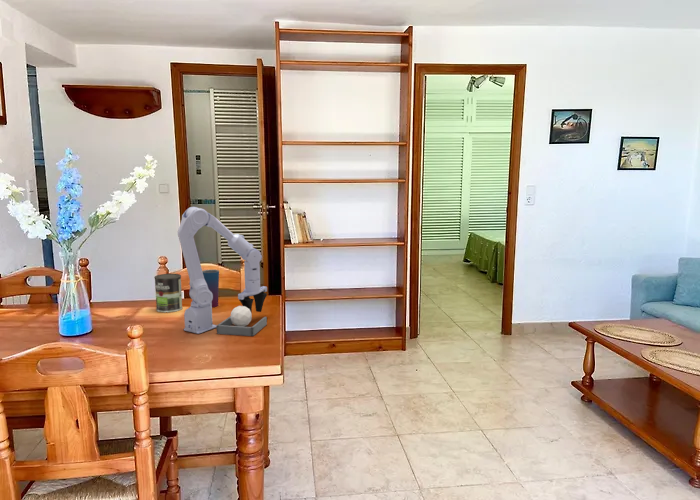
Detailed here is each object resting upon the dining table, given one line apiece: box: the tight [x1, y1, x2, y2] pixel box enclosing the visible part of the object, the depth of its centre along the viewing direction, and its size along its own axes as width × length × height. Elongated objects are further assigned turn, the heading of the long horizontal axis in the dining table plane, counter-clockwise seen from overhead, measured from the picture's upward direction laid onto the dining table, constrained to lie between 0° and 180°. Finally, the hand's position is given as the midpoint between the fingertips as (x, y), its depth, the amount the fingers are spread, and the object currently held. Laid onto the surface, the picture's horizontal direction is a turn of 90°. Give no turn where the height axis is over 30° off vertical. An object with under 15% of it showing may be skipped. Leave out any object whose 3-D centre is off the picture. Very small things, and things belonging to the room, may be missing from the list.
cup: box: [202, 269, 220, 308], centre depth 213 cm, size 7×7×15 cm
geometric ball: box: [230, 305, 253, 327], centre depth 186 cm, size 8×8×8 cm
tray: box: [215, 315, 268, 337], centre depth 183 cm, size 14×14×3 cm
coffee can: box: [154, 273, 183, 314], centre depth 207 cm, size 10×10×14 cm
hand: (253, 313), depth 193 cm, fingers open, 5 cm apart
